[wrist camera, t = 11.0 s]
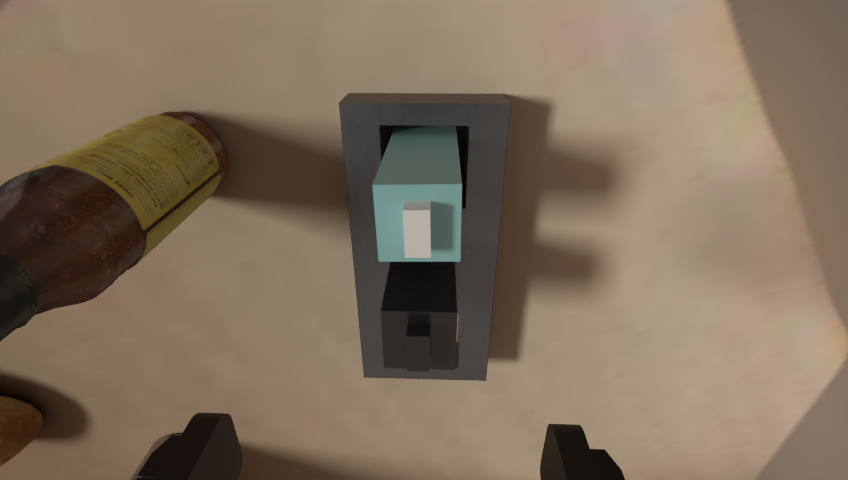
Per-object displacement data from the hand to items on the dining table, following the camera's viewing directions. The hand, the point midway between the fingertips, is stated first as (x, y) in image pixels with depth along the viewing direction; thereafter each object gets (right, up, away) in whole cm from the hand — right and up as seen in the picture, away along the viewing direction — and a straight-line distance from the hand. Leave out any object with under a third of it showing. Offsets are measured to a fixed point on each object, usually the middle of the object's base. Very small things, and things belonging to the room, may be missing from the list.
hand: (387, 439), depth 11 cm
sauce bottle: (-16, +11, +20) cm, 28 cm away
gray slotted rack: (+1, +5, +22) cm, 23 cm away
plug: (+1, +11, +19) cm, 22 cm away
